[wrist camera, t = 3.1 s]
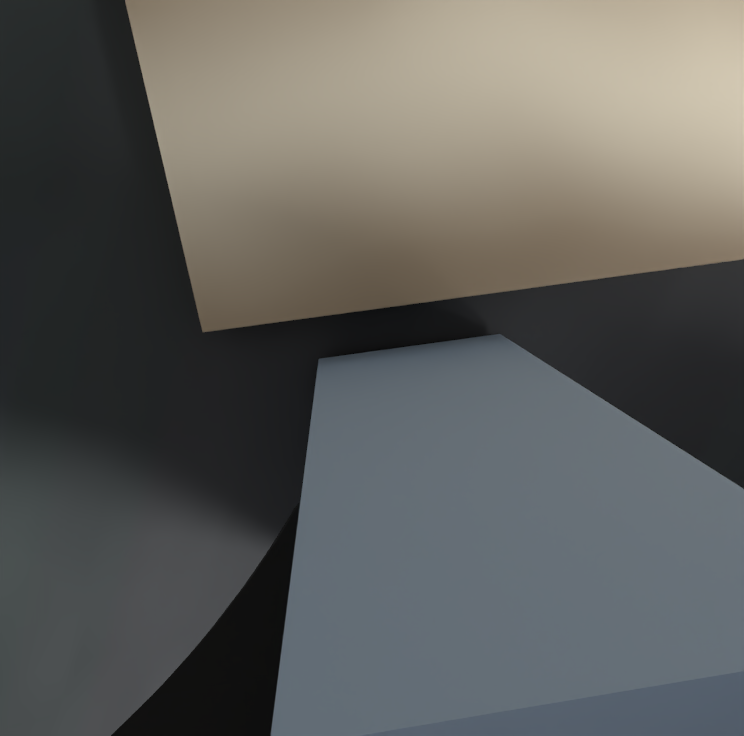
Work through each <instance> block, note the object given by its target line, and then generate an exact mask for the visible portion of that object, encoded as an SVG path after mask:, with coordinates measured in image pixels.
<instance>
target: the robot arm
mask: <svg viewBox="0 0 744 736" xmlns="http://www.w3.org/2000/svg"><path fill="white" fill-rule="evenodd" d="M299 509H300V502H299V504H298V505H297V506H296V507H295V508H294V510H293V512H292V513H291V515H290V517H289V518H288V520H287V522H286V523H285V525H284V527H283V528H282V530H281V531H280V533H279V535H278V536H277V538H276V539H275V541H274V542H273V544H272V546H271V547H270V549H269V550H268V552H267V553H266V555H265V556H264V558H263V559H262V561H261V562H260V563H259V565H258V566H257V568H256V569H255V571H254V572H253V574H252V575H251V577H250V578H249V580H248V581H247V582H246V584H245V585H244V587H243V588H242V589H241V591H240V592H239V593H238V595H237V596H236V597H235V598H234V600H233V601H232V602H231V604H230V605H229V606H228V608H227V609H226V610H225V612H224V613H223V614H222V615H221V617H220V618H219V619H218V621H217V622H216V623H215V625H214V626H213V627H212V628H211V630H210V631H209V632H208V633H207V634H206V636H205V637H204V638H203V639H202V640H201V642H200V643H199V644H198V645H197V646H196V648H195V649H194V650H193V651H192V652H191V653H190V655H189V656H188V657H187V658H186V659H185V660H184V661H183V663H182V664H181V665H180V666H179V667H178V668H177V669H176V670H175V671H174V673H173V674H172V675H171V676H170V677H169V678H168V679H167V680H166V681H165V682H164V684H163V685H162V686H161V687H160V688H159V689H158V690H157V691H156V692H155V693H154V694H153V695H152V696H151V697H150V698H149V699H148V700H147V701H146V702H145V703H144V704H143V705H142V706H141V707H140V708H139V709H138V710H137V711H136V712H135V713H134V714H133V715H132V716H131V717H130V718H129V719H128V720H127V721H126V722H125V723H124V724H123V725H122V726H120V727H119V728H118V729H117V730H116V731H115V732H114V733H113V734H112V735H111V736H271V729H272V721H273V713H274V705H275V697H276V690H277V682H278V674H279V666H280V658H281V650H282V642H283V635H284V627H285V619H286V611H287V603H288V595H289V588H290V580H291V572H292V564H293V556H294V548H295V540H296V533H297V525H298V517H299Z"/></svg>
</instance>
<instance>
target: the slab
mask: <svg viewBox="0 0 744 736" xmlns="http://www.w3.org/2000/svg"><path fill="white" fill-rule="evenodd" d="M271 736H744V489H743V488H742V487H740V486H738V485H737V484H735V483H734V482H732V481H731V480H729V479H727V478H726V477H724V476H723V475H721V474H720V473H718V472H716V471H715V470H713V469H712V468H710V467H709V466H707V465H705V464H704V463H702V462H701V461H699V460H698V459H696V458H694V457H693V456H691V455H690V454H688V453H687V452H685V451H683V450H682V449H680V448H679V447H677V446H675V445H674V444H672V443H671V442H669V441H668V440H666V439H664V438H663V437H661V436H660V435H658V434H657V433H655V432H653V431H652V430H650V429H649V428H647V427H646V426H644V425H642V424H641V423H639V422H638V421H636V420H635V419H633V418H631V417H630V416H628V415H627V414H625V413H624V412H622V411H620V410H619V409H617V408H616V407H614V406H613V405H611V404H609V403H608V402H606V401H605V400H603V399H602V398H600V397H598V396H597V395H595V394H594V393H592V392H591V391H589V390H587V389H586V388H584V387H583V386H581V385H580V384H578V383H576V382H575V381H573V380H572V379H570V378H569V377H567V376H565V375H564V374H562V373H561V372H559V371H558V370H556V369H554V368H553V367H551V366H550V365H548V364H547V363H545V362H543V361H542V360H540V359H539V358H537V357H536V356H534V355H532V354H531V353H529V352H528V351H526V350H525V349H523V348H521V347H520V346H518V345H517V344H515V343H514V342H512V341H510V340H509V339H507V338H506V337H504V336H503V335H501V334H495V335H488V336H481V337H473V338H466V339H459V340H451V341H444V342H437V343H430V344H422V345H415V346H408V347H401V348H393V349H386V350H379V351H371V352H364V353H357V354H350V355H342V356H335V357H328V358H320V359H319V360H318V368H317V376H316V383H315V391H314V399H313V407H312V415H311V423H310V431H309V438H308V446H307V454H306V462H305V470H304V478H303V485H302V493H301V501H300V509H299V517H298V525H297V533H296V540H295V548H294V556H293V564H292V572H291V580H290V588H289V595H288V603H287V611H286V619H285V627H284V635H283V642H282V650H281V658H280V666H279V674H278V682H277V690H276V697H275V705H274V713H273V721H272V729H271Z"/></svg>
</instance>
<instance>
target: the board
mask: <svg viewBox="0 0 744 736" xmlns="http://www.w3.org/2000/svg"><path fill="white" fill-rule="evenodd" d="M125 3H126V7H127V11H128V15H129V20H130V24H131V28H132V33H133V37H134V41H135V45H136V50H137V54H138V58H139V63H140V67H141V71H142V75H143V80H144V84H145V88H146V92H147V97H148V101H149V105H150V110H151V114H152V118H153V122H154V127H155V131H156V135H157V140H158V144H159V148H160V152H161V157H162V161H163V165H164V169H165V174H166V178H167V182H168V187H169V191H170V195H171V199H172V204H173V208H174V212H175V217H176V221H177V225H178V229H179V234H180V238H181V242H182V246H183V251H184V255H185V259H186V264H187V268H188V272H189V276H190V281H191V285H192V289H193V294H194V298H195V302H196V306H197V311H198V315H199V319H200V323H201V328H202V332H209V331H216V330H224V329H231V328H238V327H246V326H253V325H261V324H268V323H275V322H283V321H290V320H298V319H305V318H312V317H320V316H327V315H335V314H342V313H349V312H357V311H364V310H372V309H379V308H386V307H394V306H401V305H409V304H416V303H423V302H431V301H438V300H446V299H453V298H460V297H468V296H475V295H483V294H490V293H497V292H505V291H512V290H520V289H527V288H534V287H542V286H549V285H557V284H564V283H571V282H579V281H586V280H594V279H601V278H608V277H616V276H623V275H631V274H638V273H645V272H653V271H660V270H668V269H675V268H682V267H690V266H697V265H705V264H712V263H719V262H727V261H734V260H742V259H744V0H125Z"/></svg>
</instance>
